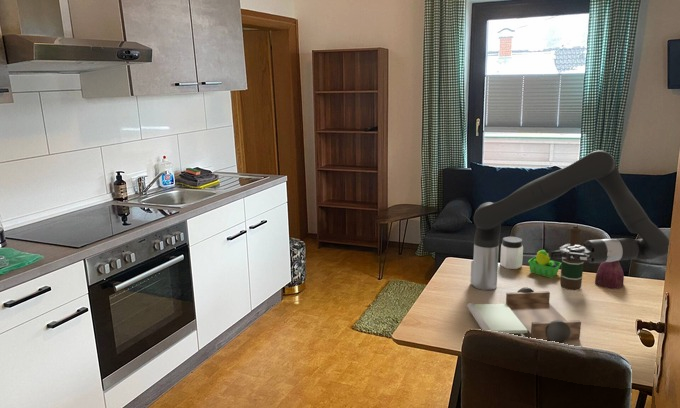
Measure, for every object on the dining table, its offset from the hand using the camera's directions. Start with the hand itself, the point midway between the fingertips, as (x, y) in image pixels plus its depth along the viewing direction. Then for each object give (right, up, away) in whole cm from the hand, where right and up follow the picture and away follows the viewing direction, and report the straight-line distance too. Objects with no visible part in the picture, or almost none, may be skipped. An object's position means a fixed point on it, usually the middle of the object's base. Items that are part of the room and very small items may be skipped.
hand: (549, 254), depth 163 cm
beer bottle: (+22, -16, +33) cm, 42 cm away
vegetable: (+38, -15, +35) cm, 53 cm away
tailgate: (-9, -21, +4) cm, 24 cm away
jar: (+6, -11, +56) cm, 57 cm away
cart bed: (-1, -23, +5) cm, 24 cm away
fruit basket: (+16, -13, +46) cm, 50 cm away
